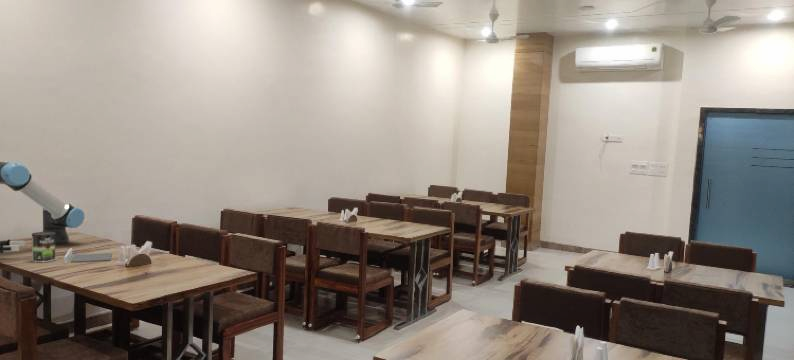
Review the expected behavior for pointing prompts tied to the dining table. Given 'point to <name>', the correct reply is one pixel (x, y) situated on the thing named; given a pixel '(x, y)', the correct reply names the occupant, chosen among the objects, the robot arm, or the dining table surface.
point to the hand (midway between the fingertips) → (22, 245)
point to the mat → (91, 257)
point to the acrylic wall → (68, 256)
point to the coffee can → (43, 246)
